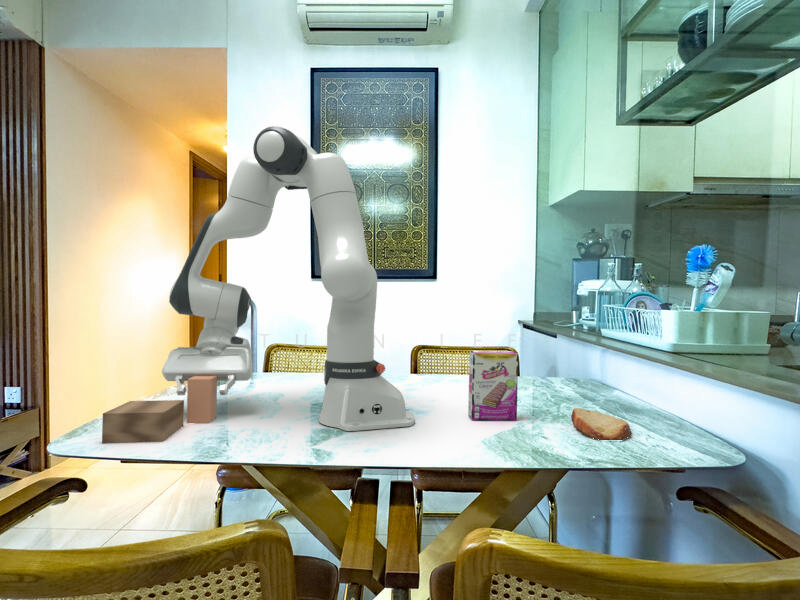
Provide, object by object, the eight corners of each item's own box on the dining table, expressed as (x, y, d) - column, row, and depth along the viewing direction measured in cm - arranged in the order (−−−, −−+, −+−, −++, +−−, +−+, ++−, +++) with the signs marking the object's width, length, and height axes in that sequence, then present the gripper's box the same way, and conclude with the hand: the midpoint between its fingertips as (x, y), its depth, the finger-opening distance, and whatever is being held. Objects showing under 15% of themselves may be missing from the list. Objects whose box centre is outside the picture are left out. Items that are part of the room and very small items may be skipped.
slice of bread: (580, 415, 110) (580, 400, 110) (654, 432, 96) (654, 415, 96) (536, 425, 100) (536, 409, 100) (612, 446, 85) (612, 428, 85)
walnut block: (183, 427, 95) (184, 400, 95) (163, 443, 84) (163, 412, 84) (129, 428, 93) (130, 400, 93) (101, 444, 82) (102, 413, 82)
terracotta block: (216, 417, 102) (217, 375, 102) (210, 423, 97) (210, 379, 97) (194, 417, 101) (195, 375, 102) (186, 423, 97) (187, 379, 97)
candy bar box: (472, 421, 102) (472, 352, 102) (467, 415, 107) (468, 350, 107) (518, 421, 102) (518, 352, 102) (512, 416, 107) (512, 350, 107)
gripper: (168, 339, 105) (150, 386, 96) (254, 339, 108) (245, 385, 98) (175, 355, 110) (158, 402, 100) (257, 355, 113) (248, 400, 103)
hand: (201, 393), depth 99 cm, fingers open, 8 cm apart
